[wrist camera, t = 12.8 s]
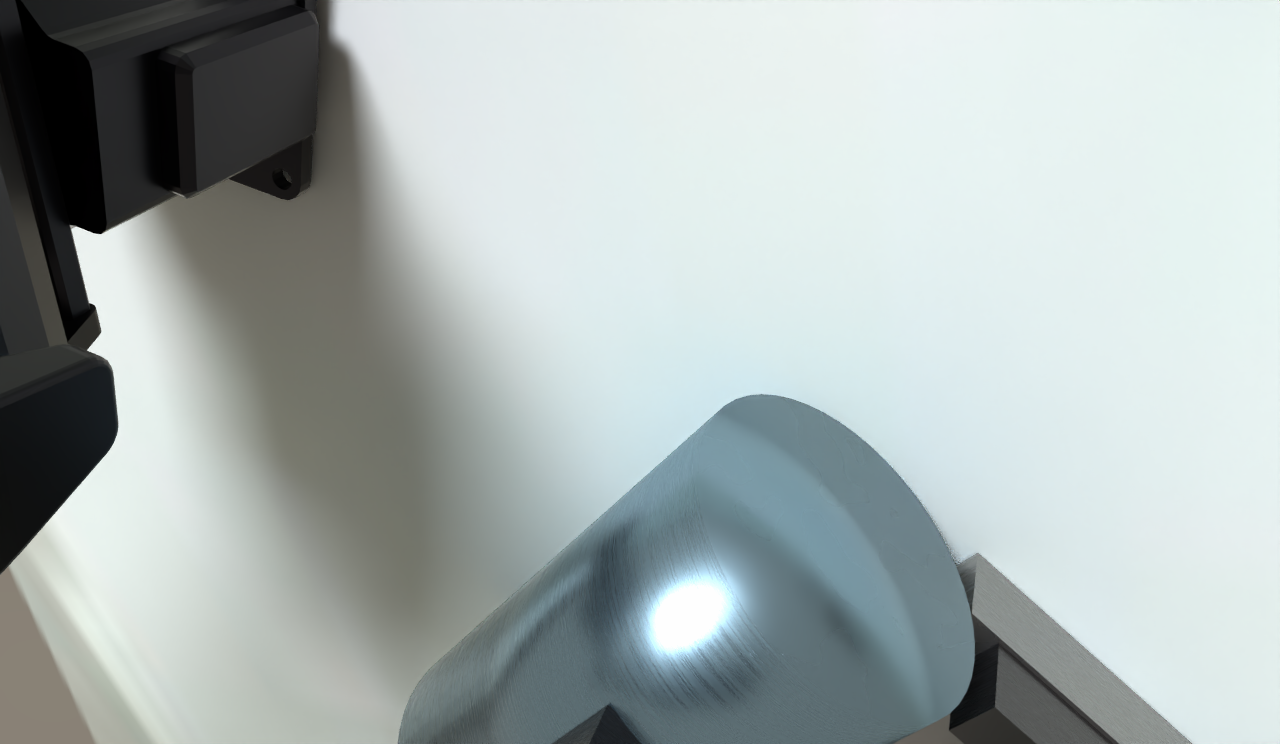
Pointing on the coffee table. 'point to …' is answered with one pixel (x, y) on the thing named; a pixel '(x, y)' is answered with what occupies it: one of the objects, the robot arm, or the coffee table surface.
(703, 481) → the grey tray with cylinder
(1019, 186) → the coffee table surface
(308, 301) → the coffee table surface
